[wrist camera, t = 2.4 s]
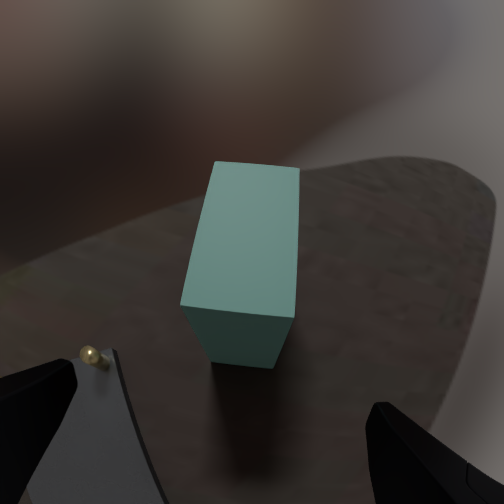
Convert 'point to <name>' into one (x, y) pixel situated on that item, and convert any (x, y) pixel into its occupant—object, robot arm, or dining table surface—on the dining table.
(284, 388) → the dining table surface
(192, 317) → the teal rectangular block
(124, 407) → the chassis
